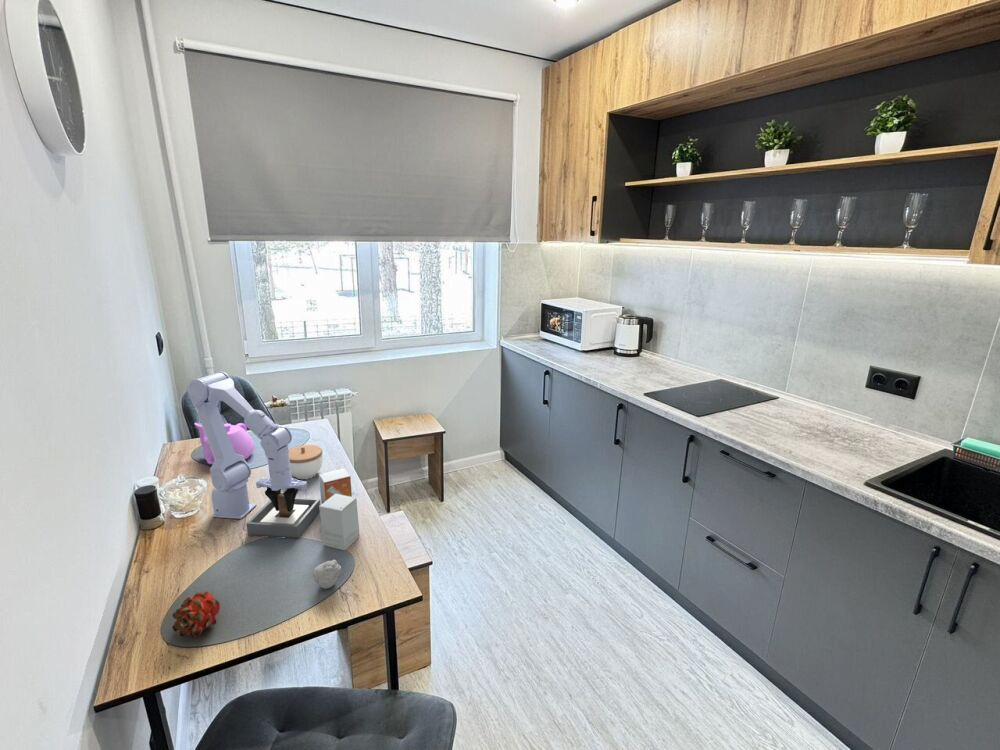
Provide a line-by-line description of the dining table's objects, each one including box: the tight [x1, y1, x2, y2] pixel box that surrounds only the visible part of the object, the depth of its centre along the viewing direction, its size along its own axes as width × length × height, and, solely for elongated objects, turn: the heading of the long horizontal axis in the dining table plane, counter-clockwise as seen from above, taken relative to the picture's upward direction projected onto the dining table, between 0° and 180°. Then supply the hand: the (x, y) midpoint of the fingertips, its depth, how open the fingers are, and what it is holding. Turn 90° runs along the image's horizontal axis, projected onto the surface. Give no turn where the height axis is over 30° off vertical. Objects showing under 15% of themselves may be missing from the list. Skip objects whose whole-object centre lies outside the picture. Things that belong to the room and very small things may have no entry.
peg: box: [277, 492, 291, 518], centre depth 142 cm, size 3×3×7 cm
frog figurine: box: [312, 559, 342, 589], centre depth 117 cm, size 6×7×7 cm
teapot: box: [194, 422, 255, 465], centre depth 183 cm, size 22×22×14 cm
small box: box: [318, 467, 353, 504], centre depth 148 cm, size 8×6×13 cm
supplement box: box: [319, 494, 360, 551], centre depth 134 cm, size 7×7×13 cm
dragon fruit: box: [171, 590, 221, 639], centre depth 105 cm, size 8×8×12 cm
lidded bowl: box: [288, 444, 323, 480], centre depth 171 cm, size 13×13×11 cm
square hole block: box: [245, 497, 321, 540], centre depth 143 cm, size 15×15×4 cm
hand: (284, 509), depth 143 cm, fingers closed on peg, 3 cm apart
